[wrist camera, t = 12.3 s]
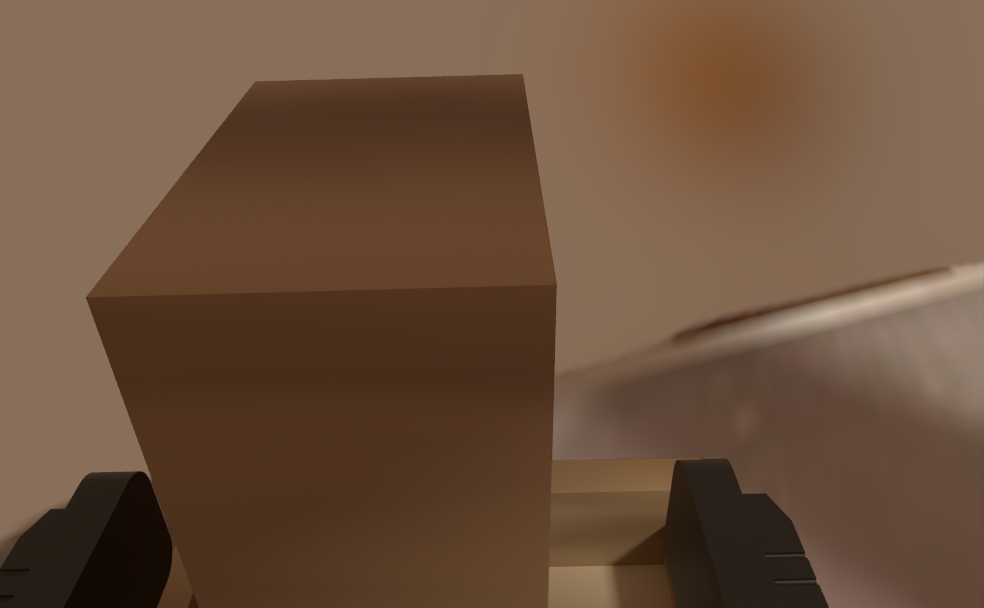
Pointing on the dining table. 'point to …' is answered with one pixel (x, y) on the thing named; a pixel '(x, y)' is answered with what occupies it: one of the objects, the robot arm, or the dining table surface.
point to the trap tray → (581, 537)
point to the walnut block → (349, 348)
